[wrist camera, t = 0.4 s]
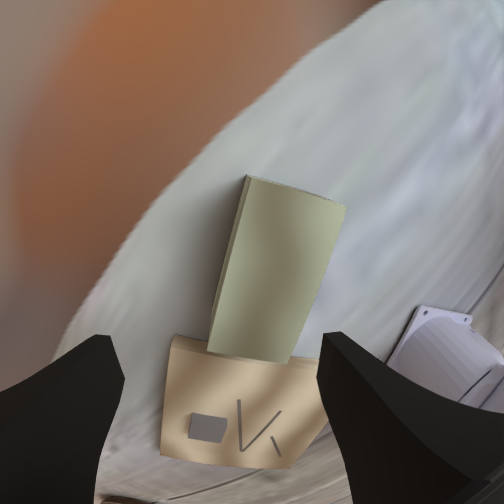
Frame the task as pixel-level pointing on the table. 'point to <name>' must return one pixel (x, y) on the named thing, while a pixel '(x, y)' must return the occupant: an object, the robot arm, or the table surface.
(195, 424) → the small gray block
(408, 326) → the robot arm
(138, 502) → the plant saucer
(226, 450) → the board
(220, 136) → the table surface
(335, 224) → the block
